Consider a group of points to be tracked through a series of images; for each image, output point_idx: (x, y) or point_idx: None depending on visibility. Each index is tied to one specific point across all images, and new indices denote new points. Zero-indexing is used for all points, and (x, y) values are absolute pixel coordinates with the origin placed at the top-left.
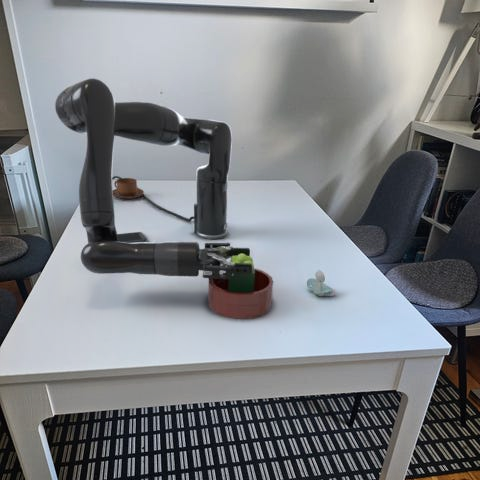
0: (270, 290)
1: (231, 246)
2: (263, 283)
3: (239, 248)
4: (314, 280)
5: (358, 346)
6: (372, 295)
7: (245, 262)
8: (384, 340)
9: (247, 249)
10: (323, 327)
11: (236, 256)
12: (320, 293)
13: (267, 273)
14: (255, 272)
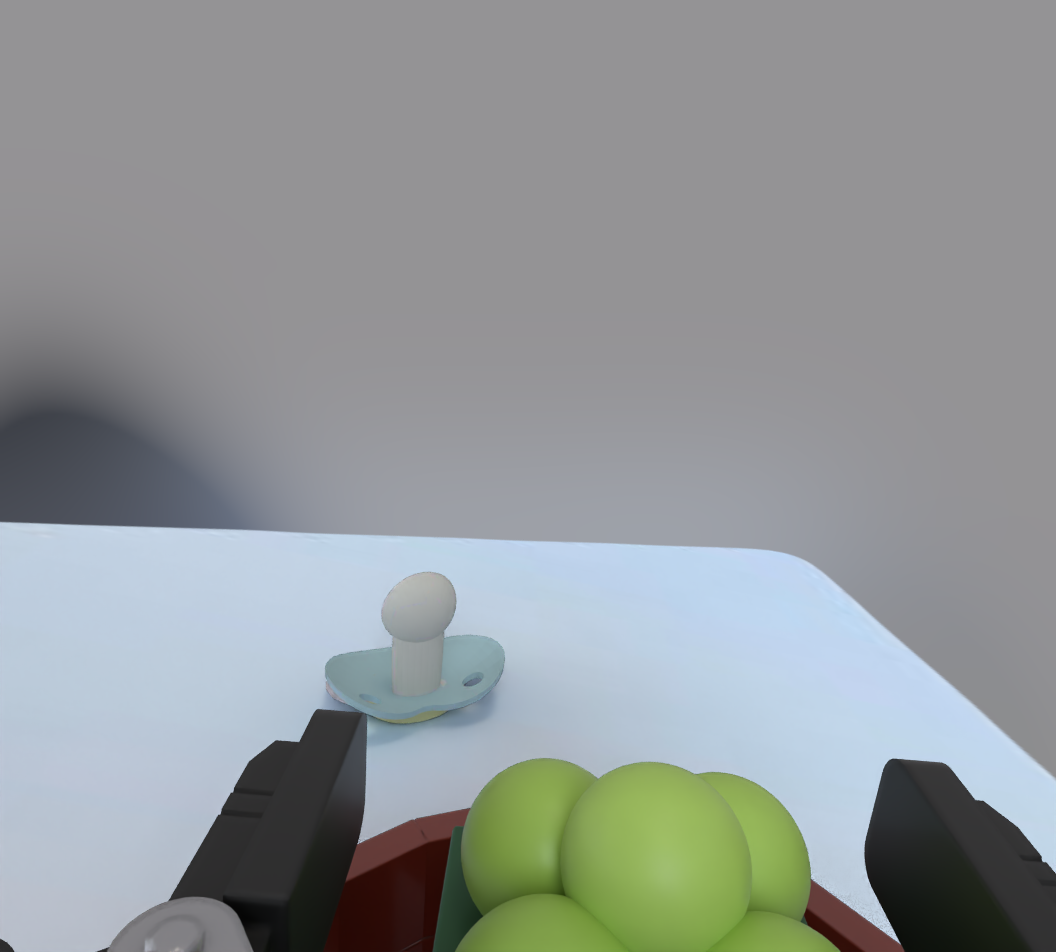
0: None
1: (193, 920)
2: (420, 936)
3: (301, 812)
4: (336, 668)
5: (924, 699)
6: (461, 577)
7: (766, 836)
8: (827, 632)
9: (359, 729)
10: (813, 768)
11: (576, 925)
12: (494, 684)
13: (422, 817)
14: None
